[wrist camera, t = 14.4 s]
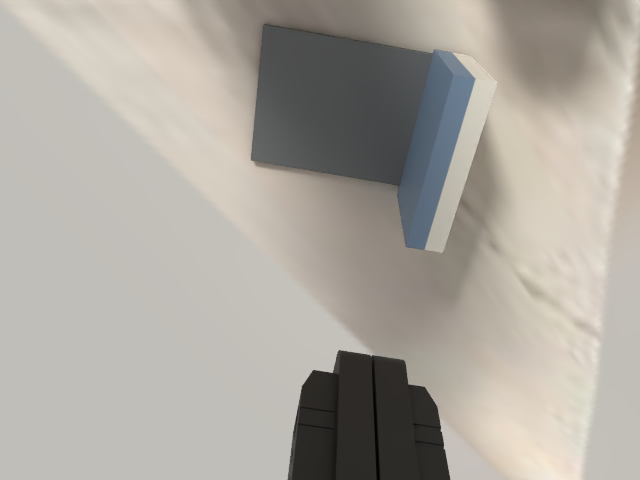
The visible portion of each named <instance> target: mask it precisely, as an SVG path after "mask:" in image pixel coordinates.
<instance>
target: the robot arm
mask: <svg viewBox="0 0 640 480" xmlns="http://www.w3.org/2000/svg"><path fill="white" fill-rule="evenodd" d="M288 480H450V476H449V470H448V465H447V459H446V453H445V450H444V442H443V436H442V432H441V426H440V419H439V414H438V408H437V406H436V404H435V402H434V401H433V399H432V398H431V396H430V394H429V393H428V391H427V390H426V388H425V387H421V386H415V385H408V379H407V371H406V364H405V361H404V360H400V359H393V358H387V357H380V356H374V355H372V356H370V355H367V354H360V353H354V352H347V351H341V350H339V351H338V354H337V357H336V362H335V366H334V371H333V373H329V372H322V371H315V370H313V371H312V373H311V374H310V376H309V377H308V379H307V380H306V382H305V383H304V384H303V386H302V390H301V395H300V400H299V405H298V410H297V416H296V421H295V426H294V431H293V440H292V448H291V456H290V466H289V473H288Z"/></svg>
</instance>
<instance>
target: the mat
mask: <svg viewBox="0 0 640 480" xmlns="http://www.w3.org/2000/svg"><path fill="white" fill-rule="evenodd" d="M432 57H433V54H432V53H426V52H420V51H415V50H409V49H403V48H398V47H392V46H386V45H381V44H375V43H369V42H363V41H358V40H352V39H346V38H341V37H335V36H329V35H323V34H318V33H312V32H306V31H301V30H295V29H289V28H284V27H278V26H272V25H266V24H264V26H263V36H262V47H261V58H260V68H259V79H258V89H257V100H256V111H255V121H254V132H253V142H252V153H251V160H252V161H258V162H264V163H269V164H275V165H281V166H287V167H293V168H299V169H305V170H311V171H317V172H323V173H329V174H335V175H341V176H347V177H353V178H359V179H364V180H370V181H376V182H382V183H388V184H394V185H400V183H401V179H402V175H403V171H404V167H405V163H406V159H407V155H408V151H409V147H410V143H411V140H412V136H413V132H414V128H415V124H416V120H417V116H418V112H419V108H420V104H421V100H422V96H423V92H424V88H425V84H426V80H427V76H428V72H429V68H430V64H431V60H432Z"/></svg>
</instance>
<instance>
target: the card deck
mask: <svg viewBox="0 0 640 480" xmlns="http://www.w3.org/2000/svg"><path fill="white" fill-rule="evenodd" d="M496 86H497V82H496V81H495V80H494V79H493V78H492V77H491V76H490V75H489V74H488V73H487V72H486V71H485V70H484V69H483V68H482V67H481V66H480V65H479V64H478V63H477V62H476V61H475V60H474V59H473V58H472V57H471V56H469V55H463V54H458V53H452V52H446V51H441V50H435V49H434V53H433V57H432V60H431V64H430V68H429V72H428V76H427V80H426V84H425V88H424V92H423V96H422V100H421V104H420V108H419V112H418V116H417V120H416V124H415V128H414V132H413V136H412V140H411V143H410V147H409V151H408V155H407V159H406V163H405V167H404V171H403V175H402V179H401V183H400V187H399V191H398V195H397V197H398V203H399V209H400V215H401V220H402V226H403V232H404V238H405V244H406V247H409V248H415V249H422V250H428V251H434V252H440V253H443V251H444V248H445V245H446V242H447V239H448V236H449V233H450V229H451V226H452V223H453V220H454V217H455V214H456V211H457V208H458V205H459V201H460V198H461V195H462V192H463V189H464V186H465V183H466V180H467V177H468V173H469V170H470V167H471V164H472V161H473V158H474V155H475V152H476V148H477V145H478V142H479V139H480V136H481V133H482V130H483V127H484V124H485V120H486V117H487V114H488V111H489V108H490V105H491V102H492V99H493V96H494V92H495V89H496Z"/></svg>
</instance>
